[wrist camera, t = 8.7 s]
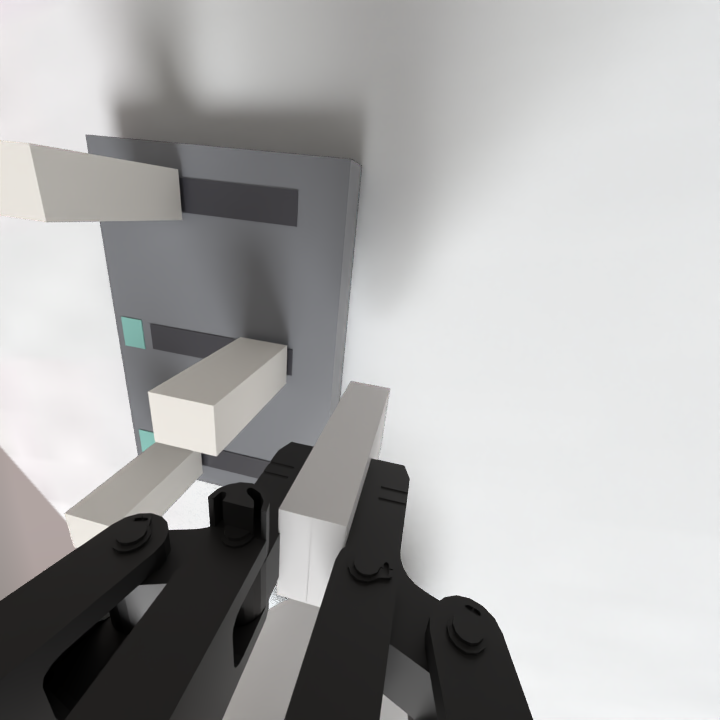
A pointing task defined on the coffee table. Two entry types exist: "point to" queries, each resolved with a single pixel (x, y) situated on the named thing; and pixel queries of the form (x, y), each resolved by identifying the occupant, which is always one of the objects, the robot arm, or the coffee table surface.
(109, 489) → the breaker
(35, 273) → the coffee table surface
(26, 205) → the breaker
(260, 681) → the decorative ball
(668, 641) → the coffee table surface
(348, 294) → the board
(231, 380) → the breaker
